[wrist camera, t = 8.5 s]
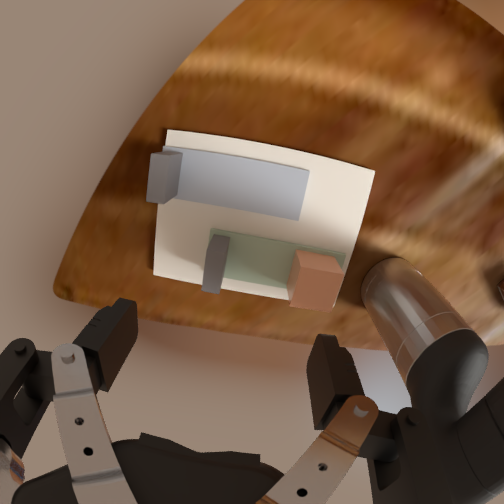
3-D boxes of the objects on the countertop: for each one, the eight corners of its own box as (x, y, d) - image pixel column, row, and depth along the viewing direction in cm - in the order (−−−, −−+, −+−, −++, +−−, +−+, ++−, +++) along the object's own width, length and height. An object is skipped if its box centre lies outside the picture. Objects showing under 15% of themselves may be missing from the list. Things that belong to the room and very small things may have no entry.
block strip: (345, 253, 36) (357, 272, 30) (331, 293, 38) (341, 317, 33) (211, 227, 35) (202, 244, 30) (205, 271, 37) (196, 293, 32)
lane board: (371, 169, 33) (375, 171, 32) (331, 302, 40) (333, 306, 39) (170, 129, 32) (167, 129, 31) (156, 271, 39) (153, 274, 38)
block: (334, 256, 35) (344, 274, 31) (323, 291, 37) (330, 312, 32) (295, 249, 35) (301, 266, 30) (286, 285, 37) (289, 306, 32)
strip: (309, 170, 32) (318, 176, 27) (297, 219, 34) (304, 234, 29) (164, 146, 31) (147, 148, 26) (158, 194, 33) (141, 205, 28)
